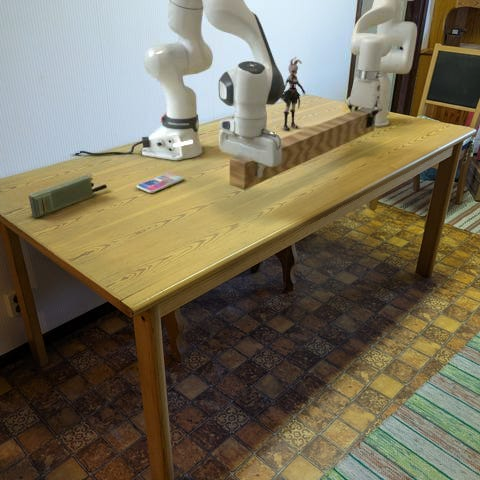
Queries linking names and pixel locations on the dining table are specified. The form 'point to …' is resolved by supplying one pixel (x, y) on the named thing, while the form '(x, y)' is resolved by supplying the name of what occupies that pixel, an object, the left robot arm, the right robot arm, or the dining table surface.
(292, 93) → the figurine
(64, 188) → the handheld radio
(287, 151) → the block
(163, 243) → the dining table surface
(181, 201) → the dining table surface
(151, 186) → the smartphone
